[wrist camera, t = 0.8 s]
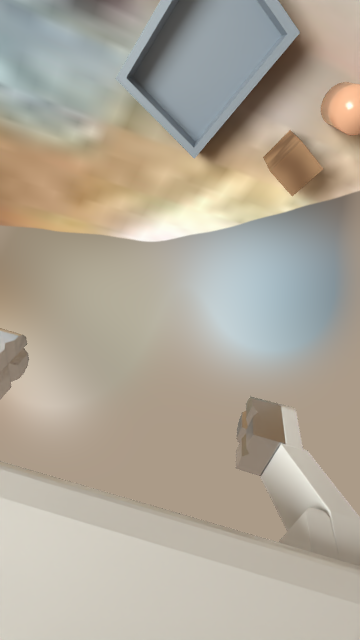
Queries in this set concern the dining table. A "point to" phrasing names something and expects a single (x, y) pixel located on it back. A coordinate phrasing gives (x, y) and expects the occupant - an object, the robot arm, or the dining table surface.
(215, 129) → the box
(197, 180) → the dining table surface
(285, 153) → the walnut block
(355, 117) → the ball
